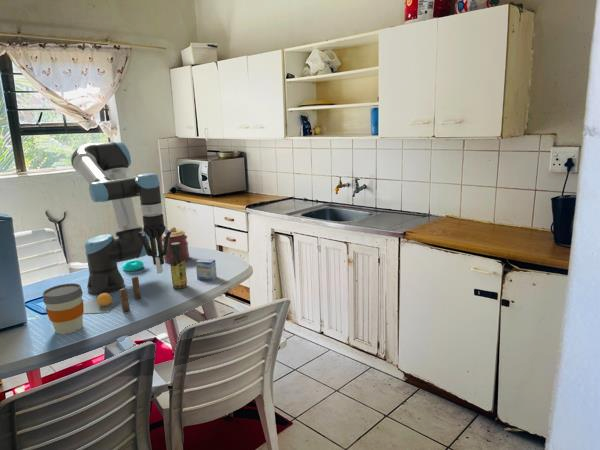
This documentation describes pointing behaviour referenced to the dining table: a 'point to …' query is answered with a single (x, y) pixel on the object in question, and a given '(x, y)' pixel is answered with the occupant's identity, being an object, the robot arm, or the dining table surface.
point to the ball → (104, 299)
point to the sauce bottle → (178, 267)
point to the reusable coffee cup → (64, 307)
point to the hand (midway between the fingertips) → (160, 272)
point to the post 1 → (124, 300)
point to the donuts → (132, 265)
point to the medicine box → (206, 269)
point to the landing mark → (98, 306)
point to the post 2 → (136, 288)
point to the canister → (176, 237)
